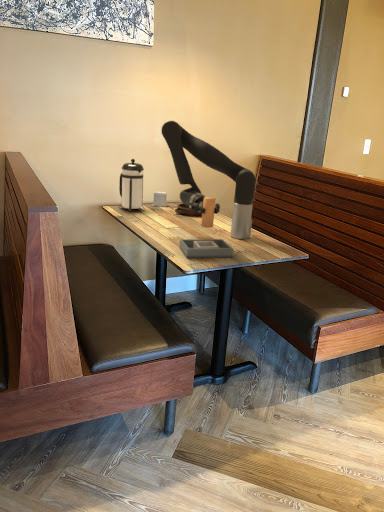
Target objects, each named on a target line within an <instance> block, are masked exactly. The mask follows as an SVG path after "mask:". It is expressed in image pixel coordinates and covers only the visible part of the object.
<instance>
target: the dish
mask: <svg viewBox="0 0 384 512" xmlns="http://www.w3.org/2000/svg"><path fill="white" fill-rule="evenodd" d="M176 207H177V208H175V210H174V212H175V213H176V214H182V215H185V216H192V217H193V216H195V217H197V216H202V213H199V212H195V211H193V210H191V209H189V205H185V204H184V203H183V202H181V203H178V204H177V205H176Z"/></svg>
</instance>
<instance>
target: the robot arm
mask: <svg viewBox="0 0 384 512" xmlns="http://www.w3.org/2000/svg"><path fill="white" fill-rule="evenodd" d="M161 135H162V137H163V139H164V140H165V142H166V144H167V145H166V146H167V147H168V149H169V152H170V155H171V157H172V161H173V165H174V169H175V173H176V175H177V179H178V183H179V184H180V185H182V186H183V185H184V186H185V185H189V186H190V187H188V188H186V189H183V190H181V191H180V193H179V199H180V201H181V203H184V204H185V205H189V209H191V210H193V211H195V212H199V213H203V214H205V208H203V201H204V197H206V196H205V195H204V194H203V193H202V191H201V189H200V188H199V186H198V185H197V182H196V181H195V179H194V176H193V173H192V169H191V167H190V164H189V161H188V159H187V156H186V153H185V150H186V151H187V152H188V153H189V154H190V155H191V156H193V157H194V159H197V161H199V162H201V163H202V164H203V165H205V166H206V167H209V168H210V169H212V170H215V171H216V172H219V173H221V174H223V175H226V176H227V177H228V178H229V179H231V180H232V181H233V182H234V183H235V190H234V198H233V206H232V208H233V209H232V216H231V226H230V234H229V235H230V237H231V238H233V239H237V240H247V239H251V235H252V234H251V233H252V226H253V225H252V224H253V219H252V214H253V212H252V211H253V205H254V204H253V201H254V197H255V191H256V190H255V189H256V183H257V182H256V181H257V180H256V179H257V178H256V176H255V174H254V172H253V171H252V170H250V169H248V168H246V167H244V166H242V165H240V164H238V163H236V162H235V161H234V160H232V159H231V158H229V156H228V155H226V154H225V153H223V152H222V151H221V150H219V149H218V148H217V147H215V146H214V145H212V144H210V143H208V142H206V141H205V140H203V139H201V138H199V137H197V136H195V135H192V134H191V133H190V132H189V131H187V130H186V129H185V128H184V127H182V126H181V124H180V123H178V122H177V121H175V120H167V121H165V122H164V123H163V124H162V126H161ZM220 209H221V206H220V203H218V202H217V203H215V211H214V215H217V214H219V213H220Z"/></svg>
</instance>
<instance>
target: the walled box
mask: <svg viewBox="0 0 384 512" xmlns="http://www.w3.org/2000/svg"><path fill="white" fill-rule="evenodd" d="M179 250H180V251H181V252H182V254H183V255H184V257H185V258H186V259H226V258H227V259H228V258H229V259H230V258H231V259H232V258H233V255H234V248H233V247H232V246H231V245H230V244H229V243H228V242H227V241H225V239H223V238H218V239H217V238H215V239H212V238H205V239H204V238H203V239H201V238H200V239H199V238H197V239H195V238H194V239H193V238H191V239H186V238H185V239H179Z"/></svg>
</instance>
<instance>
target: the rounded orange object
mask: <svg viewBox="0 0 384 512" xmlns="http://www.w3.org/2000/svg"><path fill="white" fill-rule="evenodd" d="M216 200H217V199H216V198H215V197H212V196H205V197H204V201H203V208H205V214H203V213H202V215H201V224H200V225H201V227H203V228H208V229H210V228H213V227H214V219H215V213H214V211H215V204H216Z"/></svg>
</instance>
